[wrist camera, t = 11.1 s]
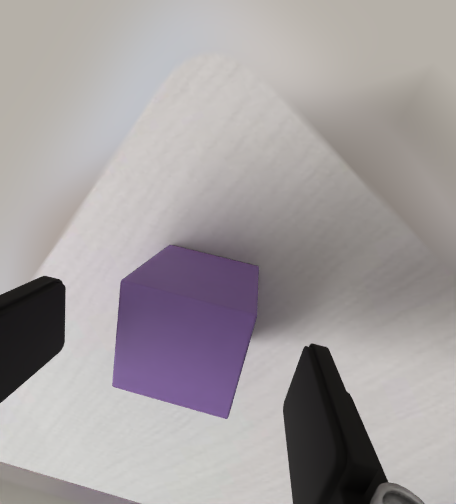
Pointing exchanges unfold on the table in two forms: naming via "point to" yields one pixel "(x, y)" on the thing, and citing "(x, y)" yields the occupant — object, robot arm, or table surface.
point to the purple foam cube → (186, 328)
